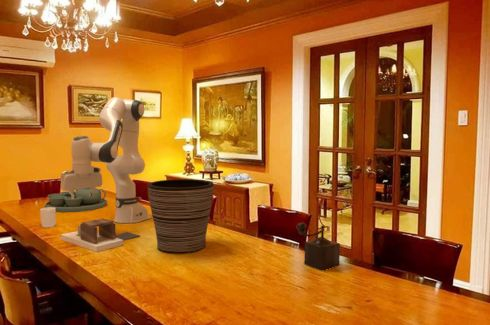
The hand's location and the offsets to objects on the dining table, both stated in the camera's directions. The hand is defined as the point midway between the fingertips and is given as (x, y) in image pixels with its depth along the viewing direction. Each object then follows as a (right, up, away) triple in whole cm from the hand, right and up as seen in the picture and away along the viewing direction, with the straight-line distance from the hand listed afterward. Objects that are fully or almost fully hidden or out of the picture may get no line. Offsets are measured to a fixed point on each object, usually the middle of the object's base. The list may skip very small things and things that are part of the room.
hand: (82, 197), depth 201 cm
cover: (+10, -19, -7) cm, 22 cm away
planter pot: (+50, -22, -9) cm, 56 cm away
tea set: (-38, -14, +85) cm, 94 cm away
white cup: (-31, -19, +29) cm, 46 cm away
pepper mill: (+109, -25, -35) cm, 117 cm away
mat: (+19, -21, +7) cm, 29 cm away
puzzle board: (+5, -21, -3) cm, 22 cm away
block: (0, -21, +2) cm, 21 cm away
